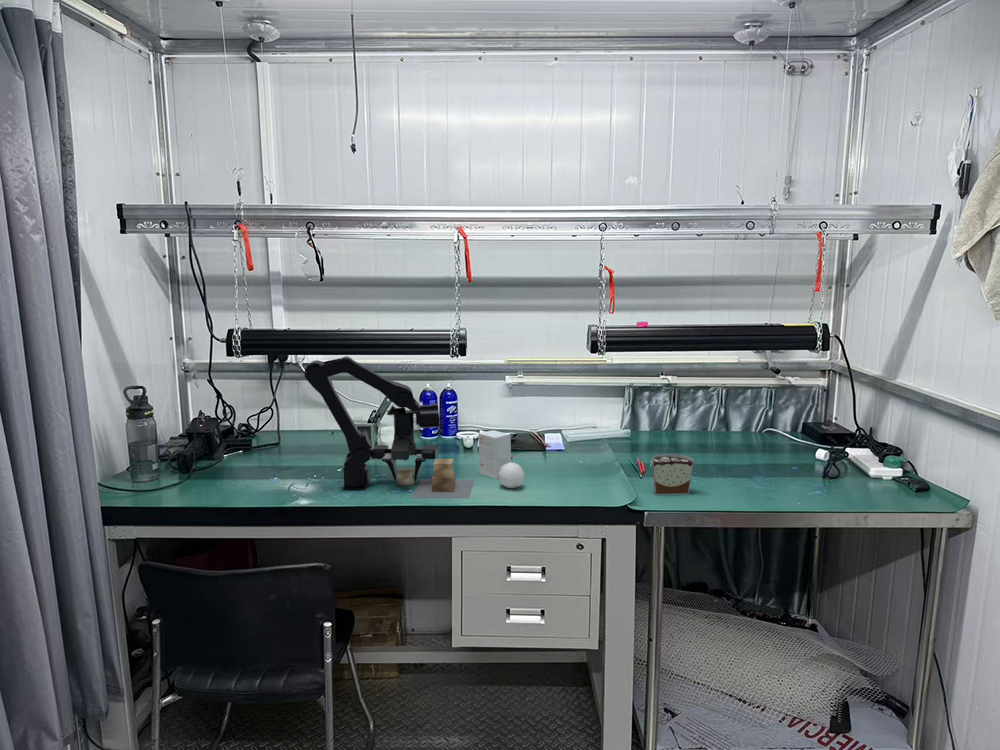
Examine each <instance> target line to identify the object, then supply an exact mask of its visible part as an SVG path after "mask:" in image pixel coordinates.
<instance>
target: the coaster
mask: <svg viewBox="0 0 1000 750" xmlns="http://www.w3.org/2000/svg"><path fill="white" fill-rule="evenodd" d="M474 481H475V479H455V482H456V485H455V488H454V491H453V492H432V479H430V478H429V479H420V480H419V482H418V484H417V486H416V488H415V490H414V492H413V493H412V495H411V499H470V498H471V493H472V489H473V486H474Z"/></svg>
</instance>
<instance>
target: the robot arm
mask: <svg viewBox="0 0 1000 750" xmlns="http://www.w3.org/2000/svg"><path fill="white" fill-rule="evenodd" d="M342 373H347V374H349V375H350V376H352V377H353V378H355V379H357V380H358V381H361V382H363V383H364V384H365V385H368V386H370V387H372V388H373V389H376V390H377V391H379V392H380V393H381V394H383V395H384V396H385V397H386V398H387V399H388V400H390V402H392V403H393V404H394V405H395V406H397V407H395V406H394V405H393V404H392V405H391V406H390V408H389V409H388V410H387V411H386V413H387V416H393V431H394V432H393V441H392V445H391V448H390V447H389V445H388V444H376V445H375V446H374V448H373V441H372V439H370V437H369V435H368V432H367V430H364V431H363V432H361V431H360V430H359V429H358V428H357V426H356V424H355V422H354V421H353V419H352V417H351V416H350V414H349V412H348V410H347V408H346V406H345V405H344V402H343V401H342V400H341V398H340V396H339V394H338V393H337V391H336V389H335V387H334V384H333V380H332V377H333V376H336V375H339V374H342ZM303 374H304V378H305V380H306V381H307V382H308V383H309V384H310V385H311V387H312V388H313V389H314V390H315V391H316V392H318V393H319V394H320V396H321V397H322V399H323V400H324V402H325V404H326V406H327V408H328V410H329V411H330V413H331V415H332V417H333V419H334V420H335V421H336V424H337V425H338V427H339V429H340V431H341V432H342V434H343V436H344V437H345V438H344V439H345V440H346V444H347V447H348V448H347V449H348V451H349V452H348V453H347V454H346V455H345V459H344V463H343V468H342V469H343V486H342V490H352V491H353V490H354V491H355V490H360V491H361V490H362V491H363V490H366V489H367V487H368V486H369V485H370V482H371V480H370V479H371V478H370V476H371V475H370V469H368V464H367V462H368V461H370V460H371V459H372V460H381V462H384V463H385V464H386V465H387V466H388V469H389V470H390V473H391V474H392V477H393V479H394V481H395V482H397V460H398V461H402V460H403V461H408V460H410V456H416V458H415V460H414V463H415V465H414V482H415V481H417V479H418V476H419V473H420V469H421V467H422V464H423V462H424V463H425V462H426V461H427V460H436V459H437V456H438V451H439V450H438V446H437V445H434V444H432V445H431V444H430V445H429V444H428V445H427V444H425V445H423V447H422V448H417V445H416V444H417V443H416V442H415V425H416V426H418V427H419V428H420V429H427V428H430V429H432V428H433V429H434V428H440V416H439V414H440V413H439V405H438V403H436V404H435V403H432V404H424V405H423V404H421V405H420V403H419V401H418V400H416V398H414V394H413V390H412V389H411V387H410V386H408V385H406V384H403V383H401V382H398V381H395V380H390V379H388V378H385V377H384V376H382V375H380V374H378V373H377V372H375V371H373V370H372V369H370V368H367V367H366V366H364V365H362V364H361V363H359V362H357V361H356V360H353V358H351V357H350V356H347V355H346V356H342V357H340V358H336V359H331V360H330V359H329V360H327V361H323V360H322V361H321V360H317V359H316V360H312V361H311V362H310V363H308V365H306V367H305V369H304V373H303ZM406 408H407V409H406ZM414 415H415V418H414ZM414 422H415V423H414ZM414 424H415V425H414Z"/></svg>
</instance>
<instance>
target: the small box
mask: <svg viewBox="0 0 1000 750" xmlns="http://www.w3.org/2000/svg"><path fill="white" fill-rule="evenodd" d="M511 441H512V440H511V434H510V433H506V432H502V431H497V430H494V429H492V430H487V431H483V432H479V433H478V472H479V474H480V475H484V476H485V477H489V478H492V479H494V480H499V471H500V469H501V467H502V466H504V465H505V464H507V463H512V458H511V456H512V451H511V450H512V447H511V445H512V444H511ZM493 475H496V476H493Z"/></svg>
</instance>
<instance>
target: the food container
mask: <svg viewBox="0 0 1000 750" xmlns="http://www.w3.org/2000/svg"><path fill="white" fill-rule="evenodd" d="M695 467H696V463H695V460H694V458H692V457H689V456H687V455H682V454H681V455H680V454H675V453H674V454H672V453H668V454H667V453H666V454H658V455H657V454H656V455H655V456H653V457H652V459H651V461H650V468H652V473H653V475H652V477H653V487H654V495H655V496H657V495H659V496H662V495H663V496H664V495H666V496H667V495H669V496H670V495H673V496H674V495H675V496H676V495H689V494H690V488H691V483H692V476H693V474H692V473H693V468H695Z"/></svg>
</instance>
